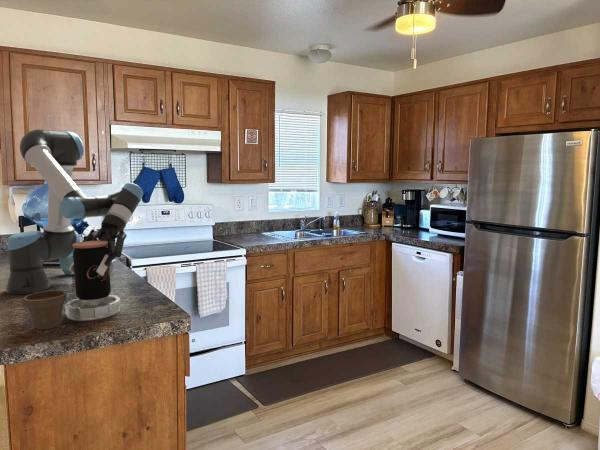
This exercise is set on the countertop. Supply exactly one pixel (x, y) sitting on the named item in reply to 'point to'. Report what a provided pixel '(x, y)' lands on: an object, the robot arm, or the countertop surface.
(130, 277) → the countertop surface
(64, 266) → the flower pot
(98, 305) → the cup bracket
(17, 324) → the countertop surface
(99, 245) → the coffee jar
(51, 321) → the flower pot
